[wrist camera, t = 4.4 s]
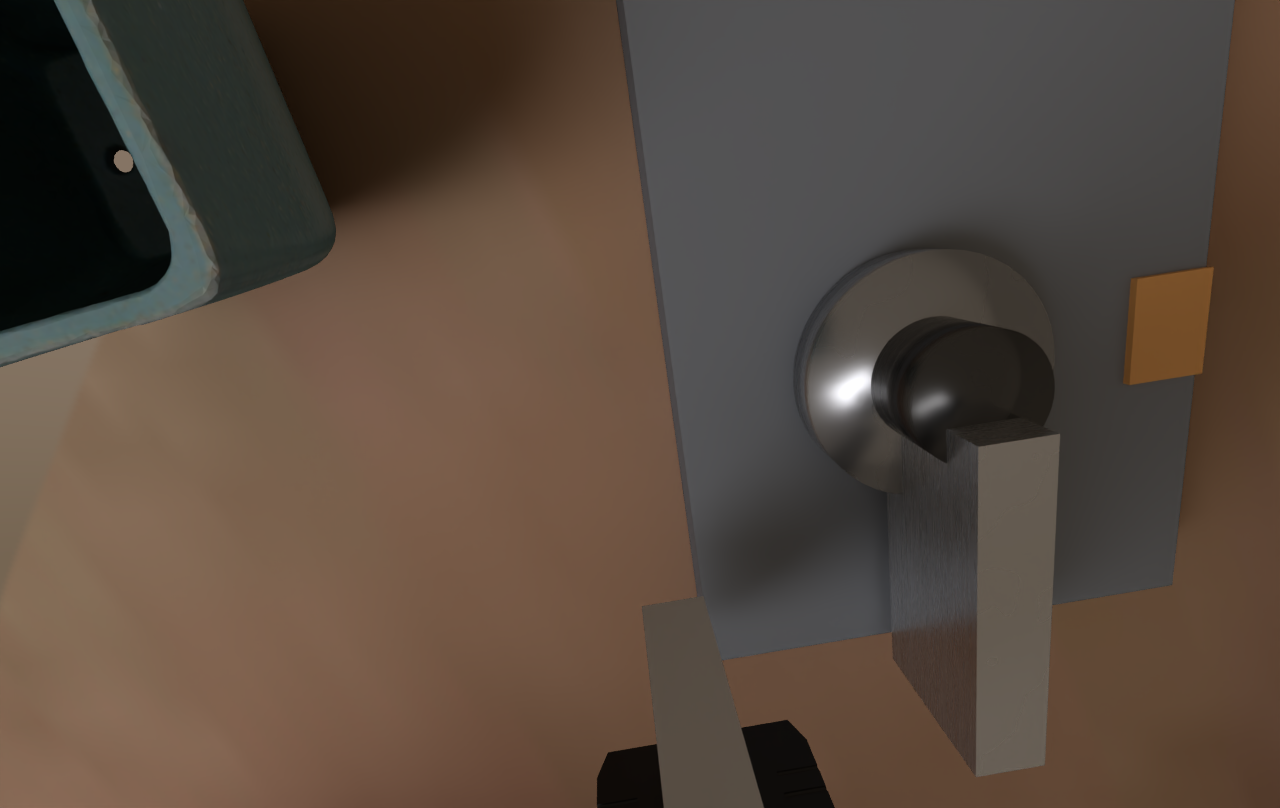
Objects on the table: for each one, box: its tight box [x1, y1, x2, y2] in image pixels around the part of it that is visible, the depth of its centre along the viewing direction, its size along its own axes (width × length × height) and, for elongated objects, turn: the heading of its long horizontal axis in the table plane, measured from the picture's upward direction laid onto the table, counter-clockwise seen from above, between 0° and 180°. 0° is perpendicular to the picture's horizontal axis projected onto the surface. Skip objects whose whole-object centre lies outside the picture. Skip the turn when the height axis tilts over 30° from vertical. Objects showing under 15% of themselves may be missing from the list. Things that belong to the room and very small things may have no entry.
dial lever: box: [793, 249, 1060, 777], centre depth 14 cm, size 12×6×4 cm, turn 8°
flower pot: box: [0, 0, 336, 367], centre depth 11 cm, size 9×9×9 cm
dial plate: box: [616, 0, 1235, 660], centre depth 16 cm, size 14×20×2 cm
